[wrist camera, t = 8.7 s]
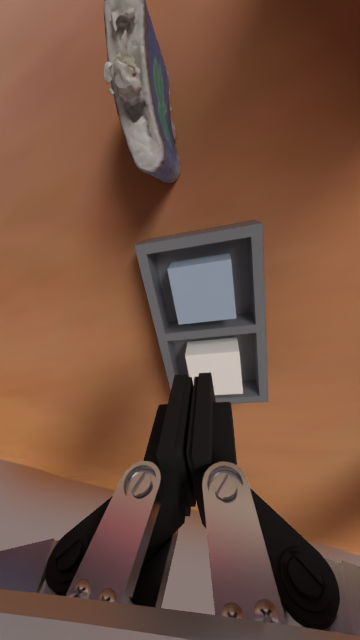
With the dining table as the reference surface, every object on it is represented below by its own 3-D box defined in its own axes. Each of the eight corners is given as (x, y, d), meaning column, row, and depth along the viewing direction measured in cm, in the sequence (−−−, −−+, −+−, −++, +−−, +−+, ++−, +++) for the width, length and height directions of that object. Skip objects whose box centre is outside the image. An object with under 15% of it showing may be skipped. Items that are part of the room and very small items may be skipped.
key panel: (255, 220, 25) (262, 222, 21) (262, 380, 33) (268, 401, 30) (144, 239, 27) (134, 245, 23) (178, 385, 36) (174, 406, 32)
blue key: (229, 253, 24) (231, 259, 22) (234, 306, 27) (236, 318, 24) (171, 262, 26) (167, 269, 23) (181, 313, 28) (178, 324, 25)
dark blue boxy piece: (182, 181, 24) (162, 166, 14) (154, 186, 24) (117, 175, 15) (167, 55, 20) (126, -79, 11) (134, 65, 21) (66, -55, 11)
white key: (236, 337, 29) (239, 351, 26) (240, 377, 31) (243, 393, 28) (187, 342, 30) (185, 355, 27) (194, 380, 32) (193, 396, 30)
